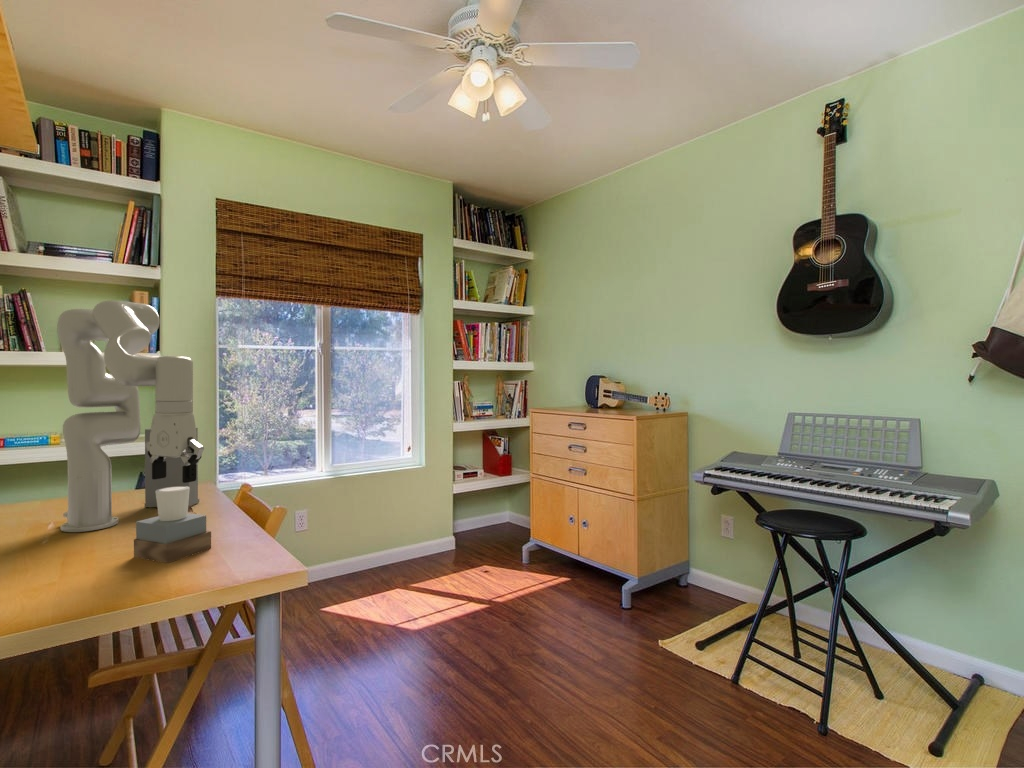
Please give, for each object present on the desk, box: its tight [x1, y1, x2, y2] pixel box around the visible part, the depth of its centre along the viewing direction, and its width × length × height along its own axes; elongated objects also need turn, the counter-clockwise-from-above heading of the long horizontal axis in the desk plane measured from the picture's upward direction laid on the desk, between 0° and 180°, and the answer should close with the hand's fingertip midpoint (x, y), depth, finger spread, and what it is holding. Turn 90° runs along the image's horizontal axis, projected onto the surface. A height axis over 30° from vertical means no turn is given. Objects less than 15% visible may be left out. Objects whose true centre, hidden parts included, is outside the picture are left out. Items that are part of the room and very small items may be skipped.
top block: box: [135, 512, 207, 544], centre depth 125 cm, size 10×10×4 cm
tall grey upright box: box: [144, 427, 200, 508], centre depth 170 cm, size 14×6×25 cm, turn 93°
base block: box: [133, 530, 212, 564], centre depth 125 cm, size 11×11×4 cm
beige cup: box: [155, 486, 190, 521], centre depth 125 cm, size 7×7×7 cm
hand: (174, 480), depth 125 cm, fingers open, 9 cm apart
